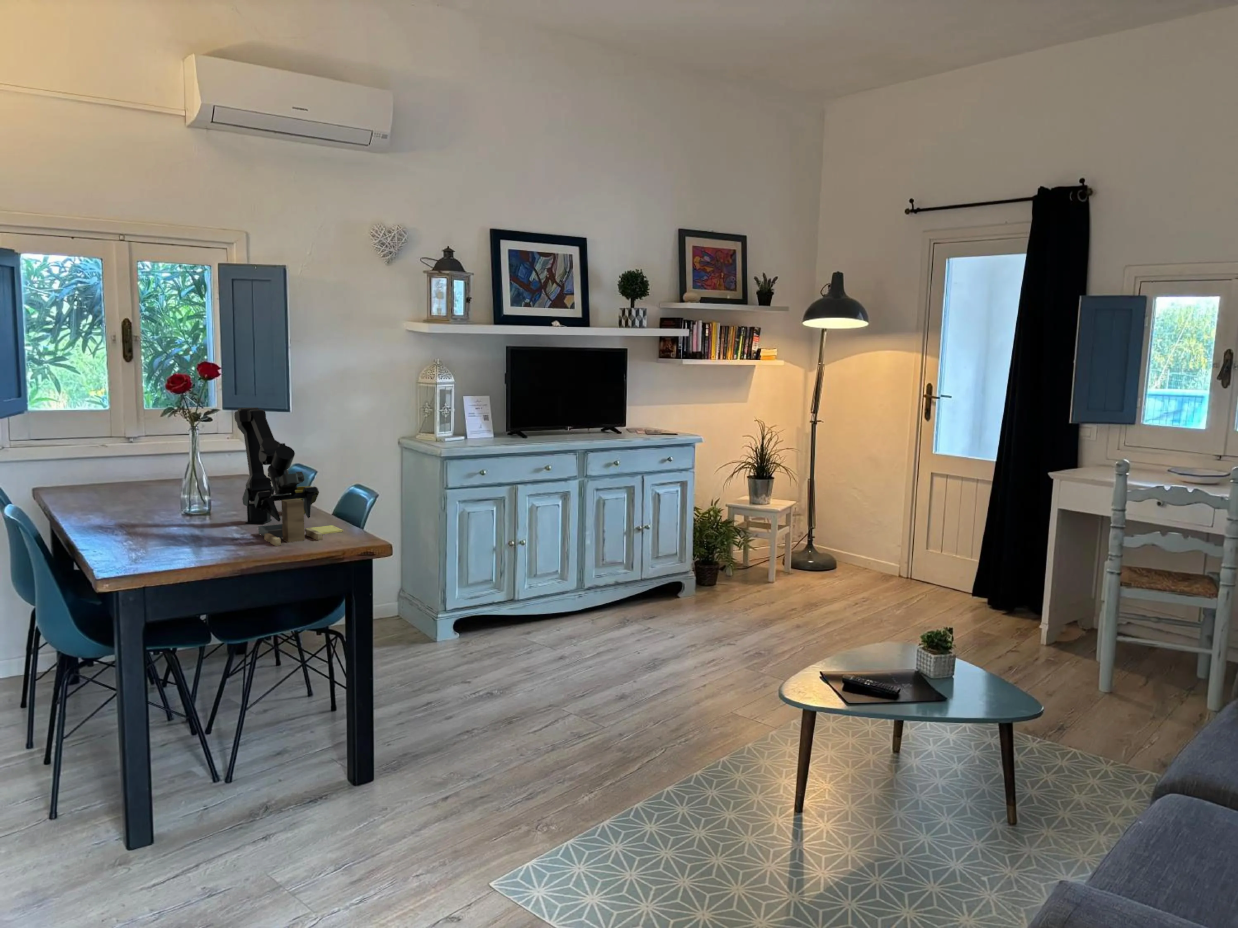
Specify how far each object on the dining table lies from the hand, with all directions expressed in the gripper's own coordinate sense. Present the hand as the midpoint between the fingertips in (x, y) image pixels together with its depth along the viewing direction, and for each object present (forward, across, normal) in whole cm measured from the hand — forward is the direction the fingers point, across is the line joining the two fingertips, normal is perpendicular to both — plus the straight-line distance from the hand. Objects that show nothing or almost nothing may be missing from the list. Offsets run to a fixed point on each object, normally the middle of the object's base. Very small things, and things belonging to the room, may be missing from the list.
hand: (294, 519), depth 277 cm
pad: (-1, +13, +11) cm, 17 cm away
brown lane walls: (+4, 0, +6) cm, 7 cm away
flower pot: (-26, +17, +36) cm, 47 cm away
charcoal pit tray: (-3, -1, +13) cm, 13 cm away
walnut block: (+4, 0, +6) cm, 7 cm away
